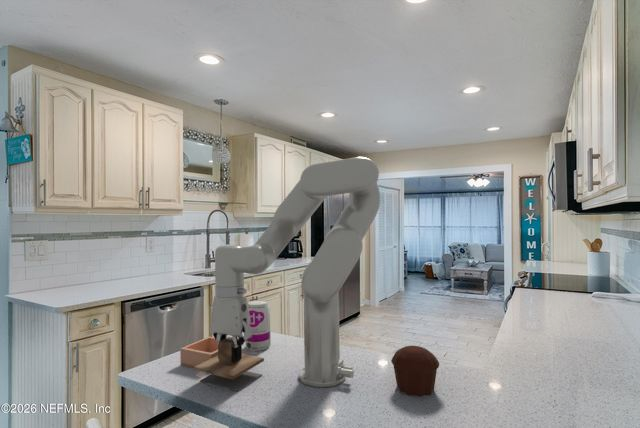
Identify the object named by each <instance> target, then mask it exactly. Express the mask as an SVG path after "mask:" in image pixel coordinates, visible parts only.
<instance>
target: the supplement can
mask: <svg viewBox="0 0 640 428" xmlns="http://www.w3.org/2000/svg"><path fill="white" fill-rule="evenodd" d="M248 307H249V316H250V332H251V334H252V337H250V338H249V339H247V340H246V341H245V348H246V349H247V350H249V351H252V352H259V351H265V350H268V349H269V347H270V346H271V345H272V344H271V343H272V342H271V341H272V340H271V306H270V304H269V301H268V300H265V299H255V300H250V301H248Z"/></svg>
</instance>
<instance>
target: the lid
mask: <svg viewBox="0 0 640 428" xmlns="http://www.w3.org/2000/svg"><path fill="white" fill-rule="evenodd" d="M238 340H239V339H238ZM233 347H234V344H233V337H232V336H227V338H225V339H223V340H221V341H219V359H218V355H217V356H215V357H213V358H211V359H209V360H207V361H205V362H203V363H201V364H199V365H197V366H195V367H194V368H193V370H194V371H196V372H200V373H205V374H209V375H211V374H213V375H217V376H221V377H225V378H229V379H235V378H236V377H238V376H240V375H241V374H243V373H245V372H246V371H248V372H249V371H250V370H252V369H253V368H255V367H256V366H258V365H259V364H261V363H264V361H265V358H264V357H260V356H256V355H250V354H246V353H242V358H241V360H239V361H237V362H235V363H233V362H232V348H233Z"/></svg>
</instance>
